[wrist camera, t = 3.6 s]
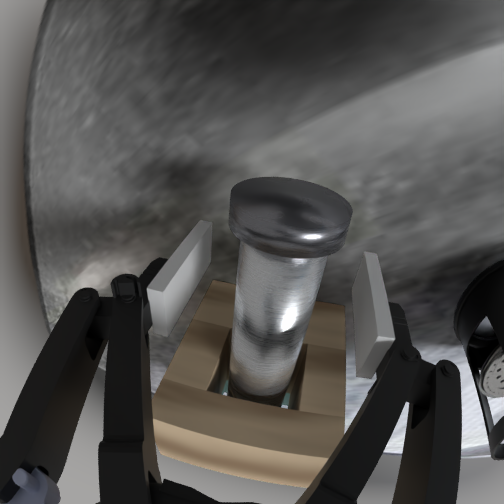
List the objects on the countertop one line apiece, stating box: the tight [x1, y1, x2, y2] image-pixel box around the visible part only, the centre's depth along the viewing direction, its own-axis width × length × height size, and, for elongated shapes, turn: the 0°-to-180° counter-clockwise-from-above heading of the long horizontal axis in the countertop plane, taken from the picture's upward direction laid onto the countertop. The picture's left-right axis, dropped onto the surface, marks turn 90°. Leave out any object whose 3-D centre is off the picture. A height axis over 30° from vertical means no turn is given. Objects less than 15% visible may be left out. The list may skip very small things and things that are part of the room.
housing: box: [152, 280, 346, 488], centre depth 19 cm, size 6×10×12 cm, turn 84°
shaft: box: [227, 177, 353, 408], centre depth 17 cm, size 21×5×5 cm, turn 174°
